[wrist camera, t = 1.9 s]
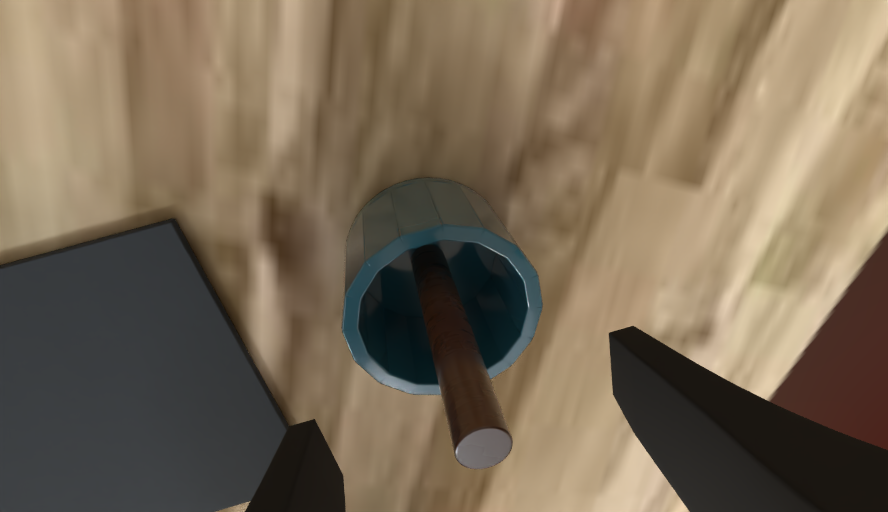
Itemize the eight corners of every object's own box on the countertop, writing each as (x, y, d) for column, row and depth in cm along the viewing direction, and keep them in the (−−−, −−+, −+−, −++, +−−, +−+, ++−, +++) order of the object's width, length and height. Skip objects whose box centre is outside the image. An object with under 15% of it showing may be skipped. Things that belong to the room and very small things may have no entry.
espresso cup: (513, 296, 20) (552, 365, 16) (372, 336, 20) (376, 416, 16) (488, 157, 17) (527, 200, 13) (322, 203, 17) (312, 260, 13)
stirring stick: (447, 269, 18) (517, 460, 11) (415, 278, 18) (461, 476, 11) (440, 240, 18) (508, 420, 10) (407, 249, 18) (448, 437, 10)
